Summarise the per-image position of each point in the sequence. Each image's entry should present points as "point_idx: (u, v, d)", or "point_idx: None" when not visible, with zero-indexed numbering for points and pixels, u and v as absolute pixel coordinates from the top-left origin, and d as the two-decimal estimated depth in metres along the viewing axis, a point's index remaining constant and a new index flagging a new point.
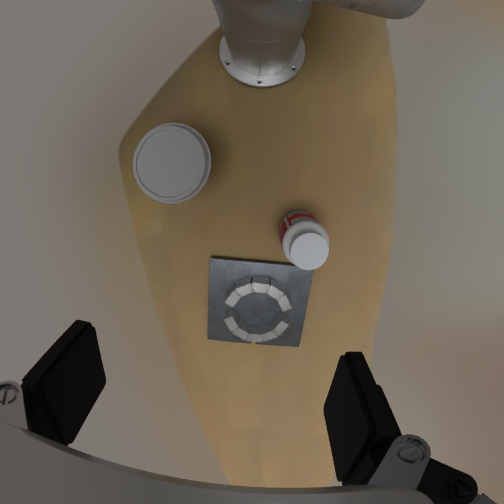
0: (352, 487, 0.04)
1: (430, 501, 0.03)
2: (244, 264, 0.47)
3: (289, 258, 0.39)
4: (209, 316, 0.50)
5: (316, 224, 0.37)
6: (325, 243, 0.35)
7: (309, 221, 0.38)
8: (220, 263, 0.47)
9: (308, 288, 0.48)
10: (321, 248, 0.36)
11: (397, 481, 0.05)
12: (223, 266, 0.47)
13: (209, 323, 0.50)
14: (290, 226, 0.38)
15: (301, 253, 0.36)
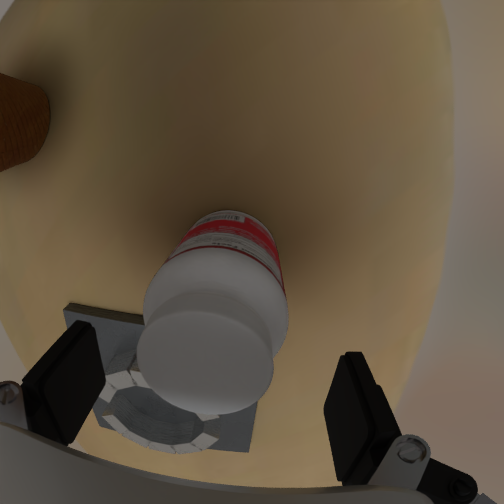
0: (352, 487, 0.04)
1: (431, 500, 0.03)
2: (120, 326, 0.21)
3: None
4: None
5: (240, 264, 0.11)
6: (259, 347, 0.09)
7: (217, 253, 0.11)
8: None
9: None
10: (245, 362, 0.09)
11: (397, 481, 0.05)
12: None
13: (94, 408, 0.24)
14: (161, 267, 0.12)
15: (173, 371, 0.09)
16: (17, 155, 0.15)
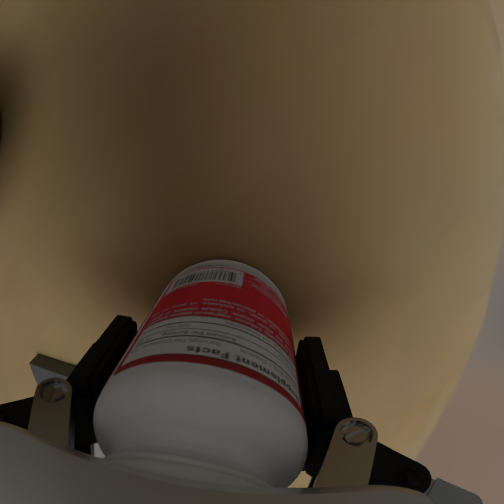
0: (352, 487, 0.04)
1: (430, 500, 0.03)
2: None
3: None
4: None
5: (232, 398, 0.06)
6: None
7: (193, 377, 0.06)
8: (49, 377, 0.15)
9: None
10: None
11: (336, 461, 0.06)
12: None
13: None
14: (111, 379, 0.07)
15: None
16: None
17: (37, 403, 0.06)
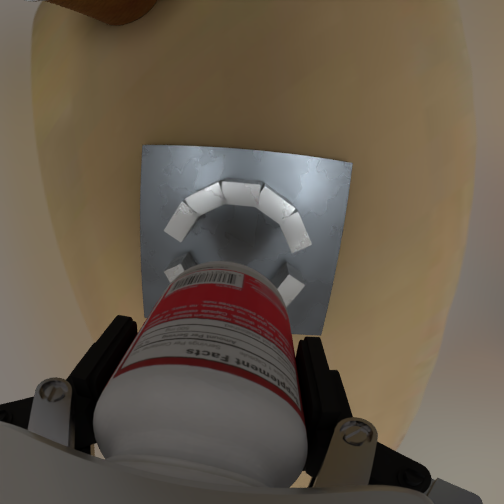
0: (352, 487, 0.04)
1: (431, 501, 0.03)
2: (209, 153, 0.21)
3: None
4: (144, 270, 0.25)
5: (232, 402, 0.06)
6: None
7: (192, 380, 0.06)
8: (161, 154, 0.22)
9: (343, 208, 0.23)
10: None
11: (336, 461, 0.06)
12: (166, 160, 0.22)
13: (145, 285, 0.25)
14: (111, 382, 0.07)
15: None
16: (136, 2, 0.16)
17: (37, 403, 0.06)
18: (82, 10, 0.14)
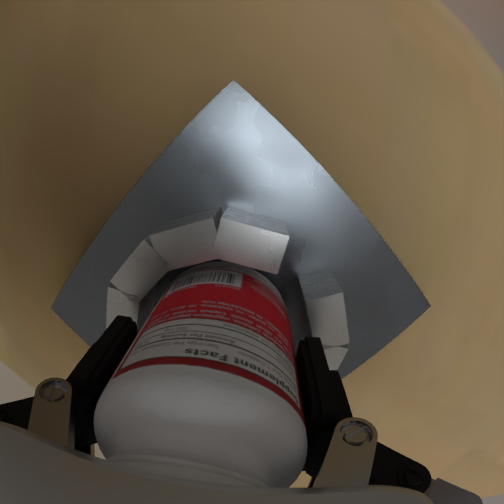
0: (352, 487, 0.04)
1: (431, 500, 0.03)
2: (94, 255, 0.14)
3: None
4: None
5: (230, 401, 0.06)
6: None
7: (191, 379, 0.06)
8: (68, 300, 0.15)
9: (288, 140, 0.12)
10: None
11: (336, 461, 0.06)
12: (76, 301, 0.15)
13: None
14: (111, 382, 0.07)
15: None
16: None
17: (37, 403, 0.06)
18: None
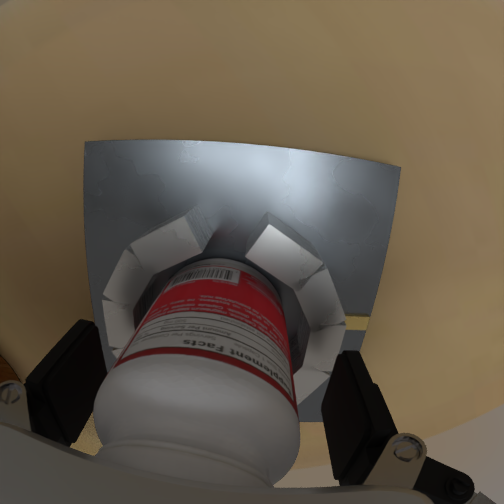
0: (352, 487, 0.04)
1: (430, 501, 0.03)
2: (104, 335, 0.16)
3: None
4: None
5: (226, 389, 0.06)
6: None
7: (188, 368, 0.06)
8: None
9: (149, 145, 0.12)
10: None
11: (393, 479, 0.05)
12: None
13: None
14: (111, 372, 0.07)
15: None
16: None
17: None
18: None
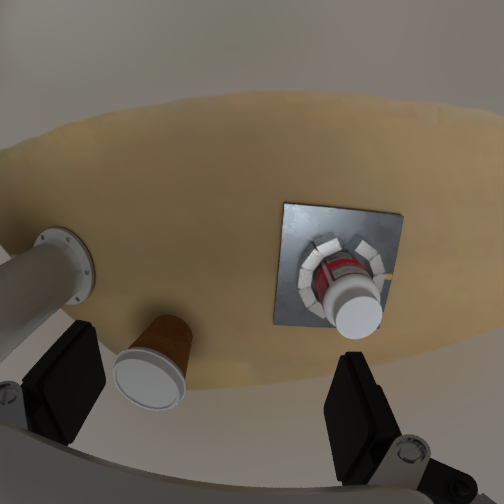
0: (352, 487, 0.04)
1: (431, 500, 0.03)
2: (280, 289, 0.38)
3: (331, 321, 0.30)
4: None
5: (366, 279, 0.28)
6: (379, 307, 0.26)
7: (358, 276, 0.28)
8: (279, 314, 0.39)
9: (315, 208, 0.35)
10: (374, 313, 0.26)
11: (397, 481, 0.05)
12: (283, 311, 0.39)
13: None
14: (333, 282, 0.29)
15: (349, 320, 0.27)
16: (181, 332, 0.39)
17: None
18: None
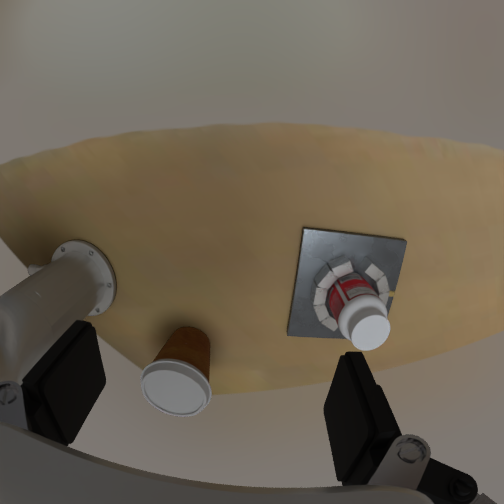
0: (353, 487, 0.04)
1: (431, 500, 0.03)
2: (296, 304, 0.42)
3: (345, 335, 0.33)
4: None
5: (377, 299, 0.32)
6: (388, 324, 0.30)
7: (369, 296, 0.32)
8: (293, 326, 0.43)
9: (330, 234, 0.39)
10: (383, 329, 0.30)
11: (397, 481, 0.05)
12: (297, 324, 0.43)
13: None
14: (349, 301, 0.33)
15: (362, 335, 0.31)
16: (202, 343, 0.42)
17: None
18: None
